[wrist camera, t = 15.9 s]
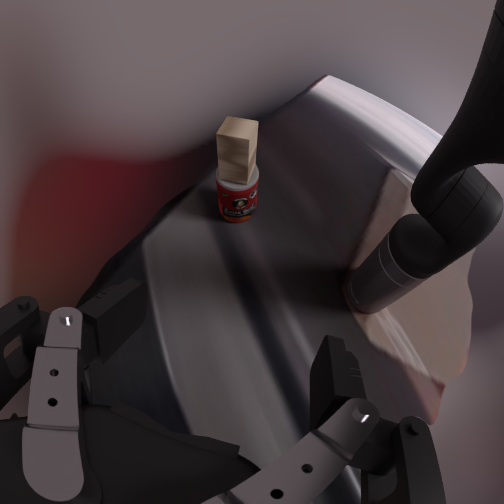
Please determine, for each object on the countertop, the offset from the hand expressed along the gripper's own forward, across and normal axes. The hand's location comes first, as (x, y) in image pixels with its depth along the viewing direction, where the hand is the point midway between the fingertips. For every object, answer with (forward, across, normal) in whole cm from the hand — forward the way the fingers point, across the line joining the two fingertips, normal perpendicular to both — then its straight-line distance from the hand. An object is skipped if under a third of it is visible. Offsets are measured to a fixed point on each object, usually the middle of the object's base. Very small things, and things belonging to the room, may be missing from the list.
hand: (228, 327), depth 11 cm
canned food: (+46, +9, +3) cm, 47 cm away
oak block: (+38, +9, -5) cm, 40 cm away
